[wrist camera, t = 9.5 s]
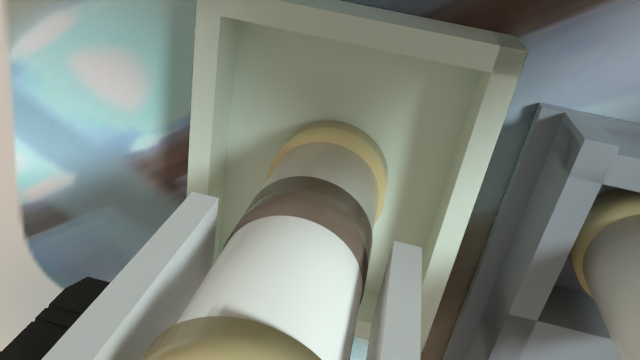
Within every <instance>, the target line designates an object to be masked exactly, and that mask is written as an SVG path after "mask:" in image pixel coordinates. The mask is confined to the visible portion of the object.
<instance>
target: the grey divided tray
mask: <svg viewBox="0 0 640 360" xmlns="http://www.w3.org/2000/svg"><path fill="white" fill-rule="evenodd" d="M615 188H622V189H627V190H631V191H635V192H640V124H637V123H632V122H627V121H622V120H618V119H613V118H608V117H604V116H599V115H594V114H590V113H585V112H580V111H575V110H571V109H566V108H561V107H557V106H552V105H547V104H543V103H539V105H538V108H537V110H536V113H535V116H534V118H533V121H532V124H531V126H530V129H529V131H528V134H527V137H526V139H525V142H524V145H523V147H522V150H521V153H520V155H519V158H518V160H517V163H516V166H515V168H514V171H513V174H512V176H511V179H510V182H509V184H508V187H507V189H506V192H505V195H504V197H503V200H502V203H501V205H500V208H499V210H498V213H497V216H496V218H495V221H494V224H493V226H492V229H491V232H490V234H489V237H488V239H487V242H486V245H485V247H484V250H483V253H482V255H481V258H480V260H479V263H478V266H477V268H476V271H475V274H474V276H473V279H472V282H471V284H470V287H469V289H468V292H467V295H466V297H465V300H464V303H463V305H462V308H461V310H460V313H459V316H458V318H457V321H456V324H455V326H454V329H453V332H452V334H451V337H450V339H449V342H448V345H447V347H446V350H445V353H444V355H443V358H442V360H621V358H620V356H619V354H618V352H617V349H616V347H615V345H614V343H613V340H612V338H611V336H610V334H609V332H608V329H607V327H606V325H605V323H604V321H603V318H602V316H601V314H600V312H599V309H598V307H597V305H596V303H595V301H594V299H593V298H592V297H590V296H589V295H588V294H587V292H586V291H585V290H584V289H583V287H582V286H581V284H580V282H579V280H578V278H577V275H576V273H575V271H574V268H573V266H572V264H571V261H570V259H569V257H568V255H569V253H570V251H571V249H572V247H573V245H574V243H575V240H576V238H577V236H578V234H579V232H580V230H581V228H582V226H583V224H584V222H585V219H586V217H587V215H588V213H589V211H590V209H591V207H592V205H593V203H594V200H595V198H596V196H597V195H599V194H601V193H603V192H606V191H608V190H611V189H615Z"/></svg>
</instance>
